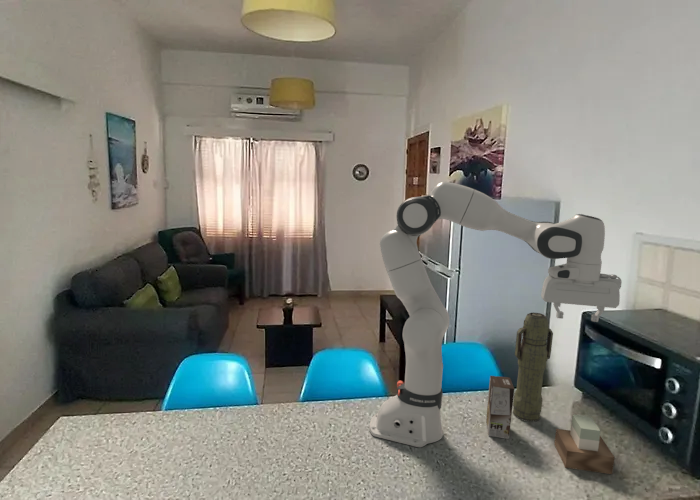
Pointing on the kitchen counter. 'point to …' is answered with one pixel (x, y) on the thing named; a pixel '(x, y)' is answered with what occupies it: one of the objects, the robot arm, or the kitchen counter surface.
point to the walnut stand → (583, 454)
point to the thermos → (531, 365)
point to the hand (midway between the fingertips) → (576, 319)
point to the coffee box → (499, 406)
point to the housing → (585, 432)
